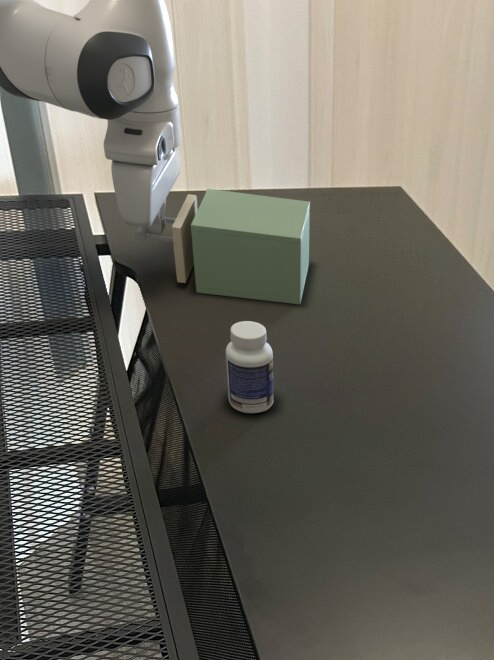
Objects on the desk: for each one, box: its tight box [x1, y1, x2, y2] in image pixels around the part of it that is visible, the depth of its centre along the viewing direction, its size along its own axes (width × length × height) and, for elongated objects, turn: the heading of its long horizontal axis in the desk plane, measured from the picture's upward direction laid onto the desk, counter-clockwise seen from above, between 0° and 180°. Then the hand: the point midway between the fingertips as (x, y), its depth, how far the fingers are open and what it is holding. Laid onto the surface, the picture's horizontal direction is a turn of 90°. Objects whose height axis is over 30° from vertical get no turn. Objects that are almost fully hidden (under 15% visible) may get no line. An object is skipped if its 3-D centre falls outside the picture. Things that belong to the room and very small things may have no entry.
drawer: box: [134, 193, 199, 284], centre depth 122 cm, size 19×11×8 cm, turn 91°
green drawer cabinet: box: [191, 188, 311, 305], centre depth 122 cm, size 15×13×10 cm
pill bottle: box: [225, 320, 275, 414], centre depth 101 cm, size 5×5×10 cm
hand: (157, 231), depth 121 cm, fingers closed
